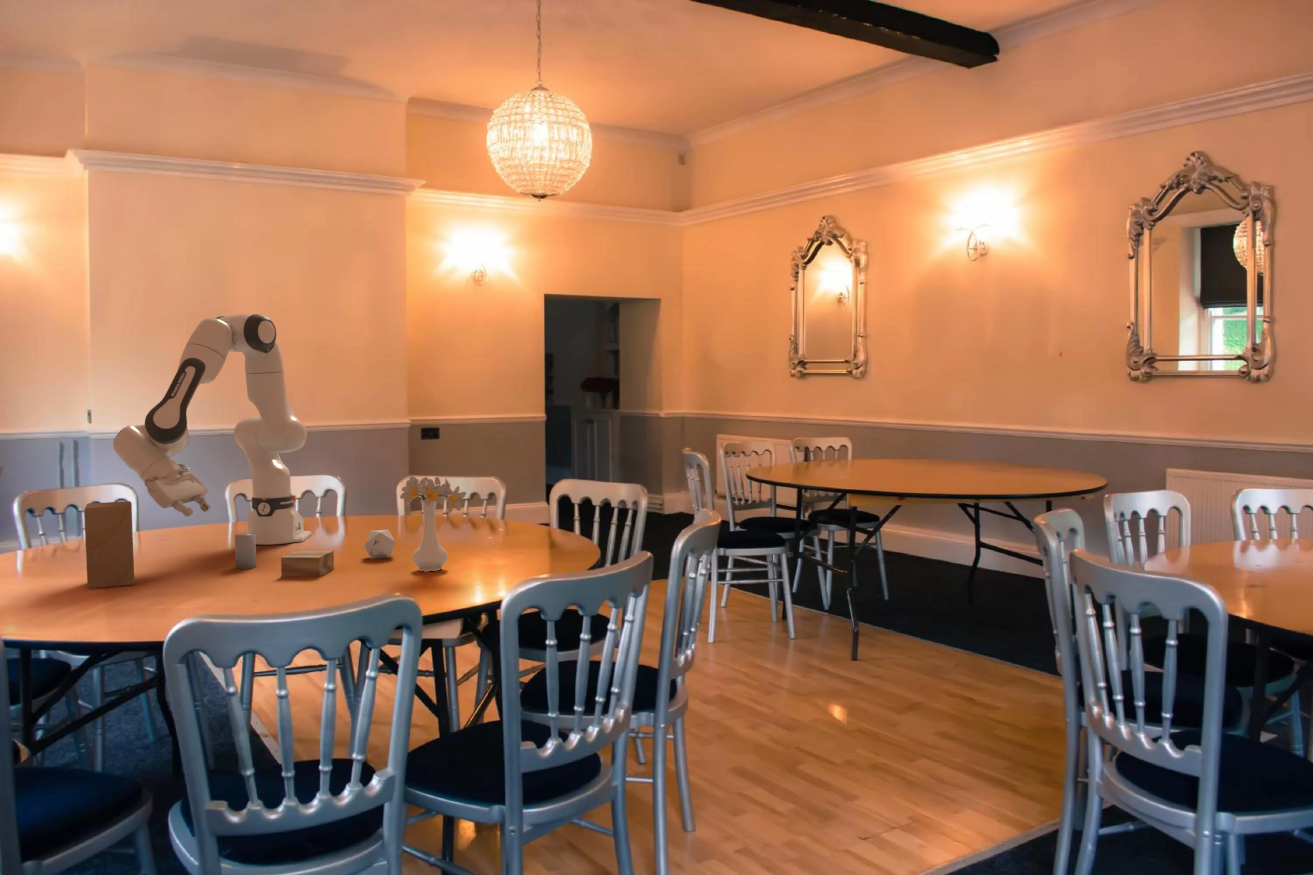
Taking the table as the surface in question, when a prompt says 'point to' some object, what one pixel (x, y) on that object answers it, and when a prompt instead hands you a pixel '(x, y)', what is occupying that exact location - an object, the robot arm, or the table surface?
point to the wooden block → (109, 544)
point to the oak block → (307, 563)
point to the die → (379, 544)
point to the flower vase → (431, 519)
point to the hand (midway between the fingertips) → (199, 512)
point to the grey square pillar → (245, 550)
